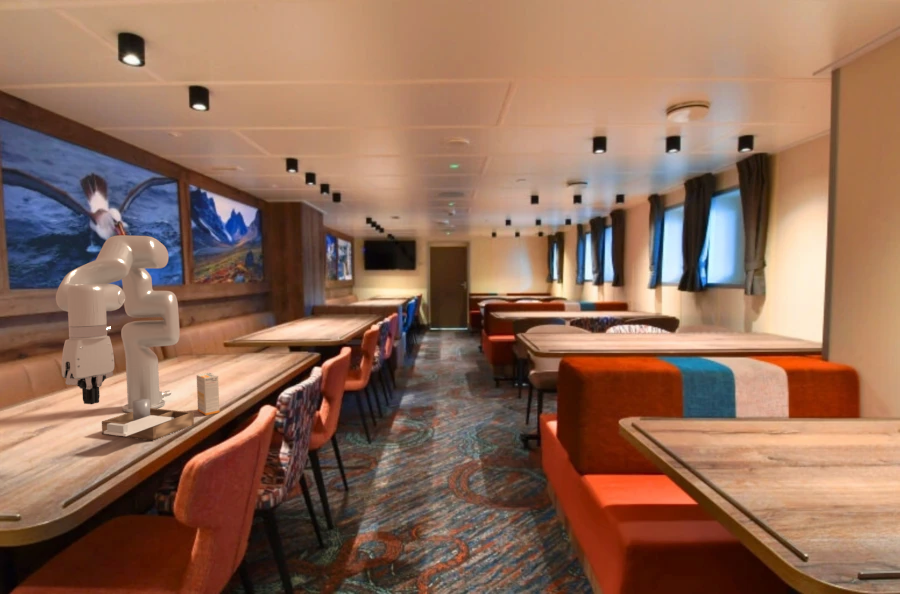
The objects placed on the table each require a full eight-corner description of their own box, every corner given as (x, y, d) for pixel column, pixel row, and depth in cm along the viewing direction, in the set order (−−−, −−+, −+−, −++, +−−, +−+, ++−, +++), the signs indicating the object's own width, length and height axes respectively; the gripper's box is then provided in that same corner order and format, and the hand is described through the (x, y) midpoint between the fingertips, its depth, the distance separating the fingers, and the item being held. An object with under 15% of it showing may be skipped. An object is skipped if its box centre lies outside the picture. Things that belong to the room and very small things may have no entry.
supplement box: (220, 412, 151) (219, 375, 151) (205, 415, 148) (204, 378, 147) (212, 407, 157) (210, 372, 156) (197, 410, 153) (196, 374, 153)
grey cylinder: (139, 421, 140) (138, 397, 140) (157, 423, 138) (156, 398, 138) (122, 427, 135) (121, 402, 134) (140, 429, 133) (139, 404, 132)
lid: (150, 417, 133) (150, 408, 133) (171, 419, 131) (170, 410, 131) (103, 433, 120) (103, 424, 120) (125, 436, 118) (125, 426, 118)
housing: (145, 419, 145) (145, 407, 144) (193, 424, 139) (193, 412, 139) (102, 434, 131) (101, 421, 131) (153, 440, 126) (153, 427, 126)
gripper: (107, 329, 119) (110, 395, 120) (44, 335, 105) (47, 410, 106) (128, 329, 117) (130, 396, 118) (66, 336, 103) (69, 412, 104)
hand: (91, 403), depth 112 cm, fingers closed
